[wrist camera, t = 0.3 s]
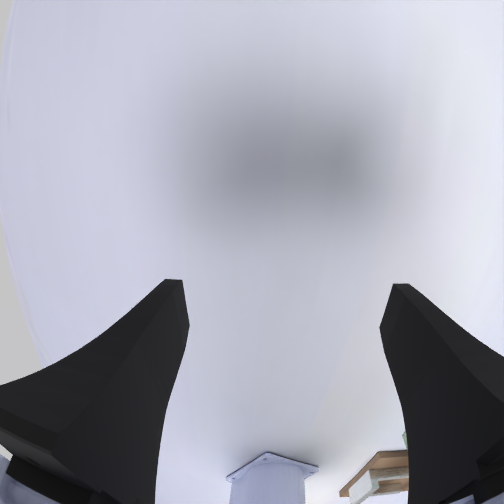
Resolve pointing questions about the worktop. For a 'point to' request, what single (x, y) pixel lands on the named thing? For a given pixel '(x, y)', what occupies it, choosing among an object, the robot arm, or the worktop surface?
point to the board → (382, 462)
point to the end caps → (370, 483)
